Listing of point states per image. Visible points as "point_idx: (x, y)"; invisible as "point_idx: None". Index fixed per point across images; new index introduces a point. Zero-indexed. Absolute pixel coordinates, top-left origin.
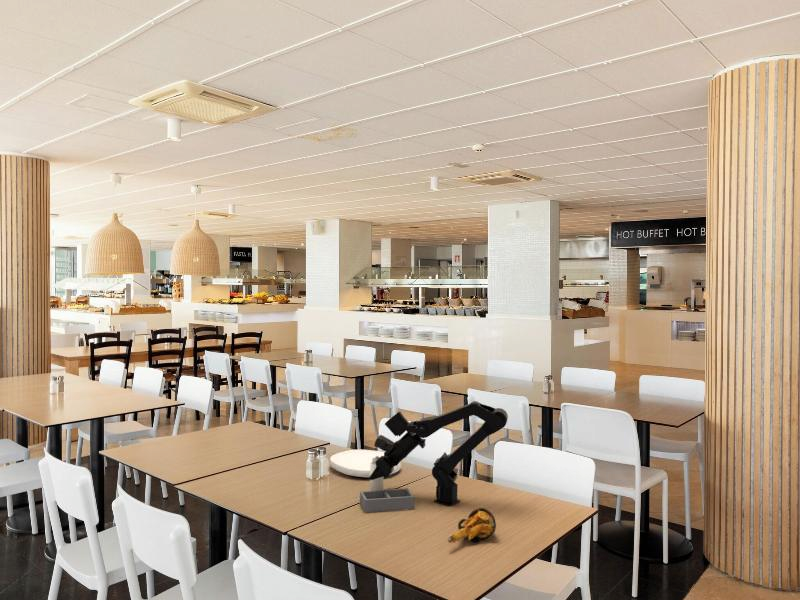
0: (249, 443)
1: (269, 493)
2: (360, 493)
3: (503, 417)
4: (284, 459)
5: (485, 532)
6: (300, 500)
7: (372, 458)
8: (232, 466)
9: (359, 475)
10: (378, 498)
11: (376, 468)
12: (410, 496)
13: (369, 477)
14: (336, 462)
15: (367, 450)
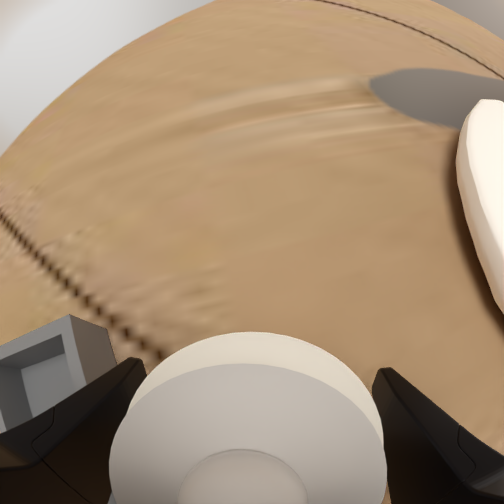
0: (465, 32)
1: (204, 49)
2: (61, 321)
3: None
4: (451, 53)
5: None
6: (144, 110)
7: (242, 368)
8: (356, 6)
9: (469, 225)
10: (3, 422)
11: (6, 439)
12: None
13: (125, 362)
14: (478, 111)
15: None
